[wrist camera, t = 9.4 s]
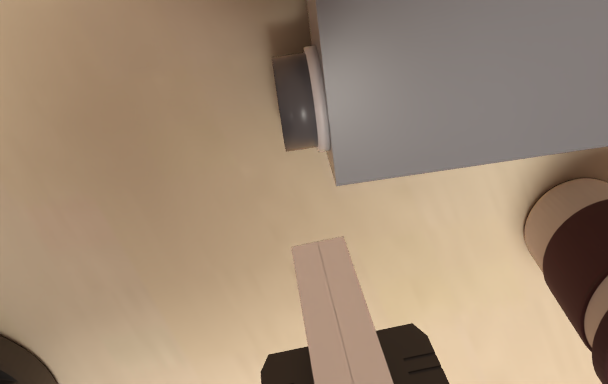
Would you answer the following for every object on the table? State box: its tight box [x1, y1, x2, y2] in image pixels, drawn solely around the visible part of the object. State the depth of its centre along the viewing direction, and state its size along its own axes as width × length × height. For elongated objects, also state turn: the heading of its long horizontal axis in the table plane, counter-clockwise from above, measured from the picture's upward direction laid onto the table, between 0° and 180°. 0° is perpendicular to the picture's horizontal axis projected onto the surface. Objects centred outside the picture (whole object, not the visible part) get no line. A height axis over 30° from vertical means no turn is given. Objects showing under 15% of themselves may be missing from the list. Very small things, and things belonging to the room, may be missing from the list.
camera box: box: [272, 0, 608, 186], centre depth 31 cm, size 22×11×8 cm, turn 97°
